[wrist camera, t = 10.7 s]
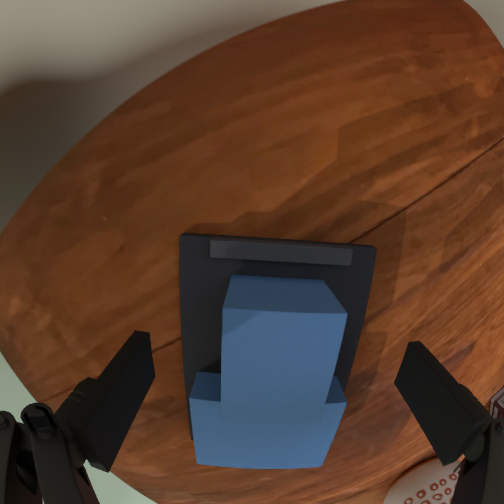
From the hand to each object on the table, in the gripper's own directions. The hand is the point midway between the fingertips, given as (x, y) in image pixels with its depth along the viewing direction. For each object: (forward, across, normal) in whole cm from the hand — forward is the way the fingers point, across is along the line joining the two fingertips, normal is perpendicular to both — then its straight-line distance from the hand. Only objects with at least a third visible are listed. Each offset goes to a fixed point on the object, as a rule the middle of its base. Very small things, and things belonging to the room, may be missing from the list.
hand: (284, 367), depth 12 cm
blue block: (+5, 0, 0) cm, 5 cm away
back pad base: (+6, 0, -4) cm, 7 cm away
